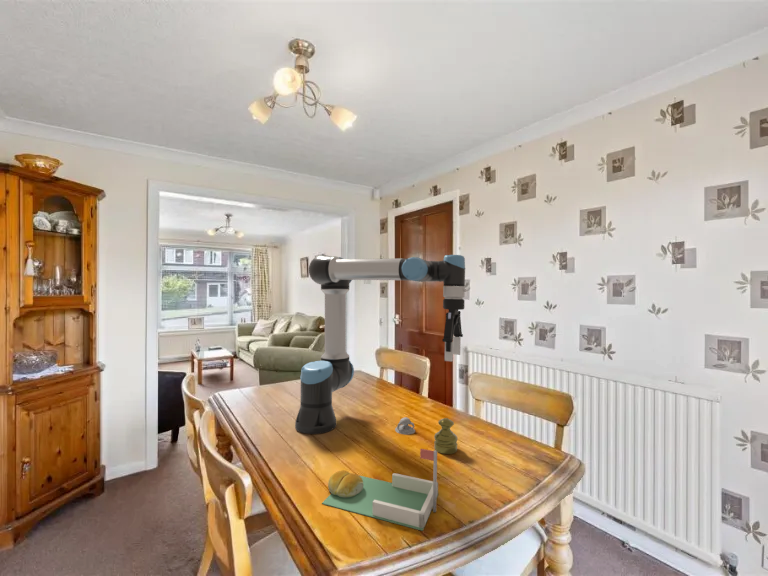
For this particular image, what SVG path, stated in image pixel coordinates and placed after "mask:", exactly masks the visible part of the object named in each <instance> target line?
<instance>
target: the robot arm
mask: <svg viewBox="0 0 768 576" xmlns="http://www.w3.org/2000/svg"><path fill="white" fill-rule="evenodd" d="M308 275H309V276H310V279H311V280H312V281H313V282H315V284H318V285H320V290H321V291H322V293H323V294H324V353H322V355H320V360H315V361H310V362H307V363H306V364H304V365H303V366H302V367H301V370H300V377H299V378H300V406H299V409H298V412H297V416H296V419H295V422H294V423H295V425H294V427H295V431H297V432H299V433H302V434H307V435H319V434H325V433H328V432H330V431H333V430H334V429H335V428H336V427H337V417H336V415H335V414H336V413H335V410H334V407H333V393H334V392H335V391H338V390H340V389H343V388H344V387H346V386H347V385H348V384H349V383H350V382H351V381H352V380H353V378H354V375H355V368H354V365H353V363H352V362H351V360H350V354H349V353H348V352H346V351H347V349H346V348H347V347H346V346H347V345H346V343H347V342H346V341H347V338H346V337H347V336H346V334H347V333H346V331H347V327H346V326H347V325H346V323H347V322H346V317H347V314H346V313H347V312H346V308H347V307H346V304H347V303H346V299H347V298H346V295H347V293H348V292H349V291H350V284H351V282H352V281H407V282H409V281H413V282H418V283H419V282H421V283H423V282H426V283H427V282H439V283H440V282H441V283H442V282H443V286H442V287H443V290H442V291H443V292H442V293H443V294H442V297H444V299H443V300H442V308H443V309H444V310H448V312H446V313H445V323H444V332H443V337H442V342H443V343H444V362H453V361H454V355H456V356H457V355H459V356H460V355H461V345H462V344H461V339H462V338H463V337H464V334H463V330H462V322H461V321H462V319H461V310H462V311H463V310H464V309H465V301H466V300H465V299H464V298H465V293H466V292H467V289H465V284H466V279H465V278H466V259H465V256H464V255H461V254H449V255H448V254H445V255H444V257H443V260H438V261H437V260H426V259H422V258H420V257H415V256H414V257H408V258H406V257H405V258H401V257H398V258H343V257H341V256H332V255H328V254H327V255H325V254H321V255H318V256H315V257H314V258H313V259H312V260H311V261H310V262H309V265H308Z"/></svg>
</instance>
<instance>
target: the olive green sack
mask: <svg viewBox="0 0 768 576" xmlns="http://www.w3.org/2000/svg"><path fill="white" fill-rule="evenodd" d="M454 423H455V422H454V421H453V420H452V419H449V418H448V417H444V418H441V419H439V420H438V425H439V426H440V427H441V428H440V430H439V431H438V432H436V433H435V434H434V445H433V446H434V450H436V451H437V453H439V454H442V455H452V454H455V453H457V451H458V435H457V434H455V433H454V432H453V431H452V430H451V427H453V426H454V425H455V424H454Z"/></svg>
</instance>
